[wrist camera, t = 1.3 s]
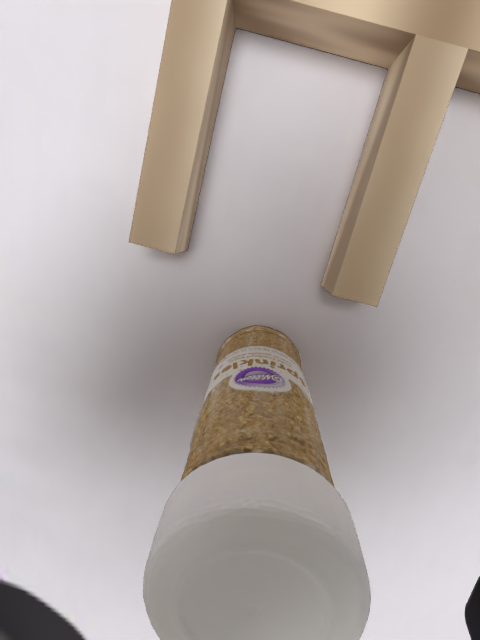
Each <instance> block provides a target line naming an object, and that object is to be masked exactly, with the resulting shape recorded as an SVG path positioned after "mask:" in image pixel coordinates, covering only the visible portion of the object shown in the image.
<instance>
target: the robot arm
mask: <svg viewBox="0 0 480 640" xmlns="http://www.w3.org/2000/svg"><path fill="white" fill-rule="evenodd" d="M465 620H466V625H467V628H468V631H469V634H470V637H471V640H480V576H479V578H478V580H477V582H476V584H475V586H474V589H473V591H472V593H471V595H470V597H469V599H468V602H467V604H466V606H465Z"/></svg>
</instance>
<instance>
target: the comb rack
mask: <svg viewBox="0 0 480 640" xmlns="http://www.w3.org/2000/svg"><path fill="white" fill-rule="evenodd" d="M235 28H239V29H243V30H247V31H250V32H254V33H258V34H262V35H265V36H269V37H273V38H276V39H280V40H284V41H287V42H291V43H295V44H299V45H302V46H306V47H310V48H313V49H317V50H321V51H325V52H328V53H332V54H336V55H339V56H343V57H347V58H350V59H354V60H358V61H362V62H365V63H369V64H373V65H376V66H380V67H384V68H388V71H387V74H386V78H385V81H384V84H383V87H382V90H381V94H380V97H379V100H378V103H377V106H376V110H375V113H374V116H373V119H372V123H371V126H370V129H369V132H368V135H367V139H366V142H365V145H364V148H363V152H362V155H361V158H360V161H359V164H358V168H357V171H356V174H355V177H354V180H353V184H352V187H351V190H350V193H349V197H348V200H347V203H346V206H345V209H344V213H343V216H342V219H341V222H340V226H339V229H338V232H337V235H336V238H335V242H334V245H333V248H332V251H331V254H330V258H329V261H328V264H327V267H326V271H325V274H324V277H323V280H322V283H321V286H322V287H323V288H324V289H326V290H327V291H328V292H329V293H330V294H331V295H333V296H336V297H340V298H344V299H348V300H352V301H356V302H359V303H363V304H367V305H371V306H375V307H377V306H378V303H379V300H380V297H381V295H382V292H383V289H384V286H385V283H386V280H387V278H388V275H389V272H390V269H391V266H392V263H393V261H394V258H395V255H396V252H397V249H398V246H399V244H400V241H401V238H402V235H403V232H404V229H405V227H406V224H407V221H408V218H409V215H410V213H411V210H412V207H413V204H414V201H415V198H416V196H417V193H418V190H419V187H420V184H421V181H422V179H423V176H424V173H425V170H426V167H427V164H428V162H429V159H430V156H431V153H432V150H433V147H434V145H435V142H436V139H437V136H438V133H439V130H440V128H441V125H442V122H443V119H444V116H445V113H446V111H447V108H448V105H449V102H450V99H451V96H452V94H453V91H454V88H455V87H458V88H462V89H465V90H469V91H473V92H476V93H480V0H172V2H171V7H170V13H169V18H168V24H167V30H166V35H165V41H164V47H163V52H162V58H161V63H160V69H159V75H158V80H157V86H156V92H155V97H154V103H153V108H152V114H151V120H150V125H149V131H148V137H147V142H146V148H145V153H144V159H143V165H142V170H141V176H140V182H139V187H138V193H137V198H136V204H135V210H134V215H133V221H132V227H131V232H130V238H129V242H130V243H134V244H137V245H141V246H145V247H149V248H153V249H157V250H160V251H164V252H168V253H172V254H176V253H180V252H183V251H187V249H188V244H189V240H190V235H191V231H192V226H193V221H194V217H195V212H196V208H197V203H198V198H199V194H200V189H201V184H202V180H203V175H204V171H205V166H206V161H207V157H208V152H209V148H210V143H211V138H212V134H213V129H214V124H215V120H216V115H217V111H218V106H219V101H220V97H221V92H222V88H223V83H224V78H225V74H226V69H227V65H228V60H229V55H230V51H231V46H232V41H233V37H234V32H235Z"/></svg>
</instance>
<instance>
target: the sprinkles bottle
mask: <svg viewBox="0 0 480 640" xmlns="http://www.w3.org/2000/svg"><path fill="white" fill-rule="evenodd" d="M143 598H144V602H145V606H146V611H147V614H148V617H149V619H150V622H151V625H152V627H153V628H154V630H155V632H156V633H157V635H158V636H159V638H160V639H161V640H359V639H360V637H361V635H362V633H363V630H364V628H365V625H366V622H367V620H368V616H369V611H370V601H371V593H370V584H369V579H368V574H367V570H366V566H365V562H364V558H363V554H362V551H361V547H360V543H359V540H358V537H357V533H356V530H355V527H354V523H353V520H352V517H351V514H350V511H349V509H348V507H347V505H346V503H345V502H344V500H343V498H342V497H341V495H340V494H339V492H338V491H337V490H336V489H335V488H334V484H333V481H332V478H331V474H330V471H329V466H328V462H327V458H326V453H325V450H324V447H323V443H322V440H321V436H320V432H319V429H318V425H317V421H316V418H315V408H314V405H313V401H312V398H311V395H310V392H309V388H308V385H307V382H306V379H305V376H304V374H303V372H302V370H301V361H300V358H299V353H298V351H297V349H296V348H295V346H294V344H293V343H292V342H291V340H290V339H289V338H288V337H286V336H285V335H284V334H282V333H281V332H279V331H277V330H273V329H271V328H267V327H264V326H252V327H248V328H244V329H241V330H239V331H238V332H236V333H234V334H233V335H231V336H230V337H229V338H227V340H226V341H225V342H224V344H223V345H222V347H221V348H220V350H219V353H218V356H217V360H216V368H215V370H214V372H213V374H212V377H211V380H210V383H209V386H208V389H207V392H206V395H205V398H204V401H203V404H202V407H201V410H200V413H199V417H198V420H197V423H196V426H195V429H194V432H193V435H192V439H191V444H190V453H189V456H188V459H187V463H186V466H185V469H184V472H183V475H182V478H181V482H180V483H179V484H178V486H177V487H176V488H175V489H174V491H173V493H172V494H171V496H170V498H169V499H168V501H167V503H166V505H165V507H164V510H163V513H162V516H161V518H160V521H159V524H158V527H157V530H156V533H155V536H154V540H153V543H152V546H151V550H150V553H149V557H148V560H147V564H146V568H145V572H144V581H143Z"/></svg>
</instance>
